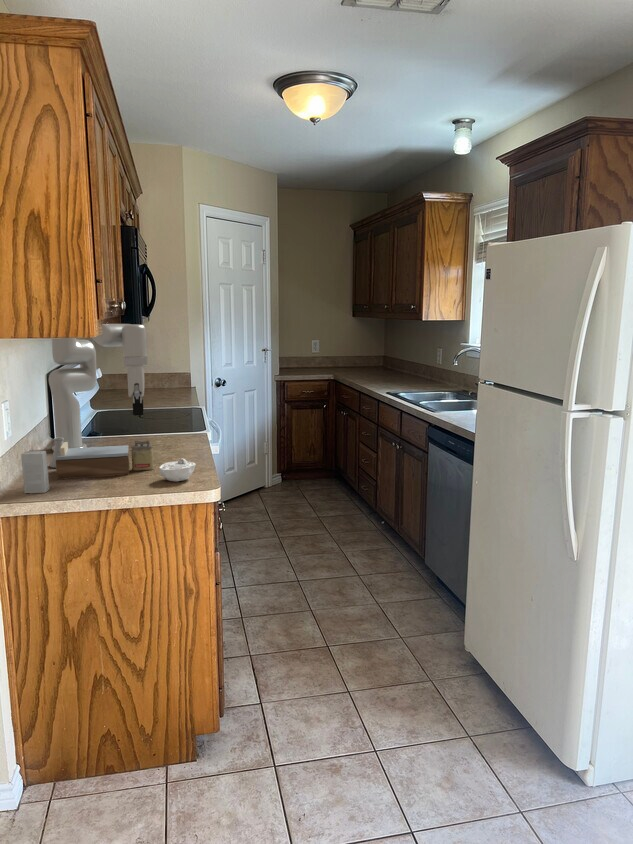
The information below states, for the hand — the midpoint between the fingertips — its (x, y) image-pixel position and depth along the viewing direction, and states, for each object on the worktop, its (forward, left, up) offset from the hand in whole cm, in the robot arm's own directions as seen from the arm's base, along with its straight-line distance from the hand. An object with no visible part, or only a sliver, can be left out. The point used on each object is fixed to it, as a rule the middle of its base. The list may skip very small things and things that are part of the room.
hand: (138, 413), depth 208 cm
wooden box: (0, -15, -19) cm, 24 cm away
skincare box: (+20, -30, -20) cm, 41 cm away
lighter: (0, +1, -20) cm, 20 cm away
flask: (-12, -27, -20) cm, 35 cm away
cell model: (+18, +11, -20) cm, 29 cm away
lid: (0, -15, -13) cm, 20 cm away
